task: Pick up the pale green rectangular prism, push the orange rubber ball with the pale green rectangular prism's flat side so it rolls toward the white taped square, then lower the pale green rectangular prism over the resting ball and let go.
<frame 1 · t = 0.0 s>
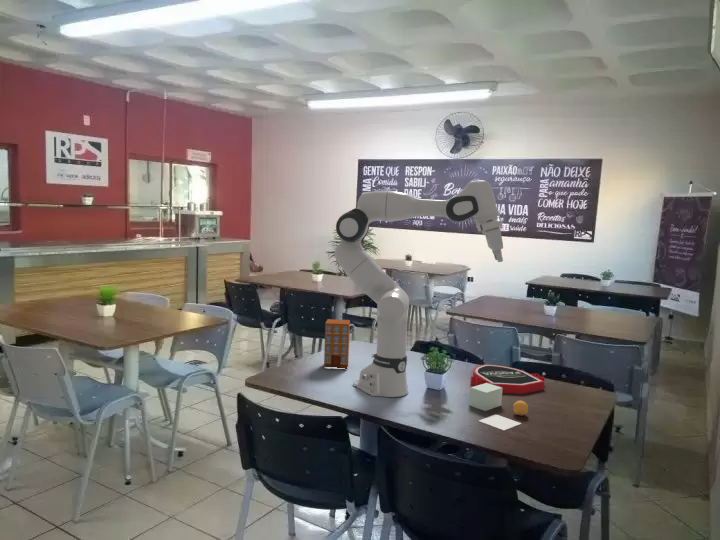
hand: (499, 260, 202), 52 cm above the table, tool tilted 20°, fingers open, 8 cm apart
mark: (499, 422, 186), on the table
miniature building: (336, 367, 243), on the table
emblem: (502, 383, 231), on the table
ball: (520, 408, 193), on the table
pale green rectangular prism: (485, 405, 202), on the table
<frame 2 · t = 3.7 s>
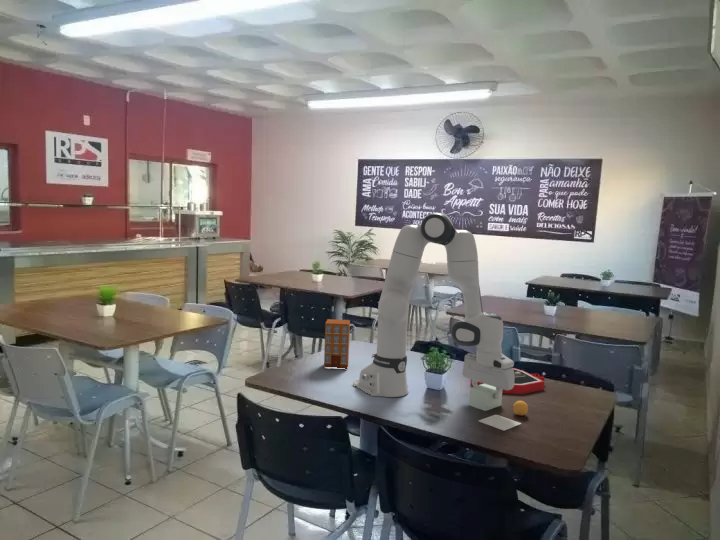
hand: (486, 395, 202), 4 cm above the table, tool pointing down, fingers closed on pale green rectangular prism, 7 cm apart
pale green rectangular prism: (485, 405, 202), on the table, touching gripper
everything else where it was.
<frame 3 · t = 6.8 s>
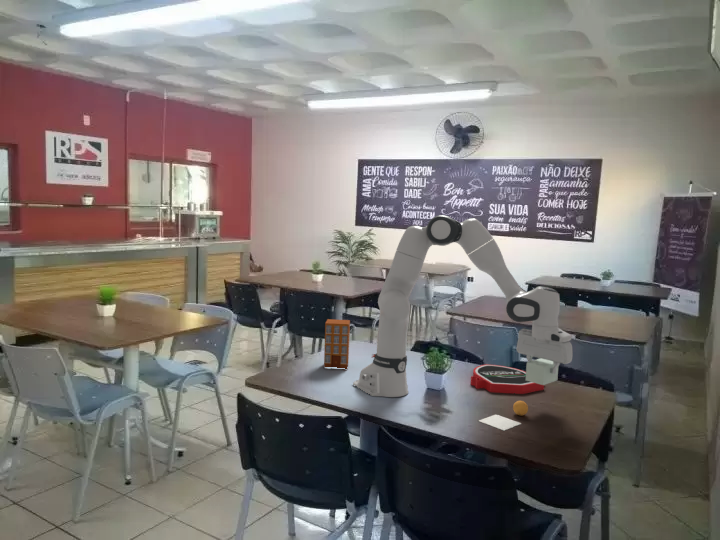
hand: (542, 370, 200), 14 cm above the table, tool pointing down, fingers closed on pale green rectangular prism, 7 cm apart
pale green rectangular prism: (541, 380, 200), point 10 cm above the table, touching gripper
everything else where it was.
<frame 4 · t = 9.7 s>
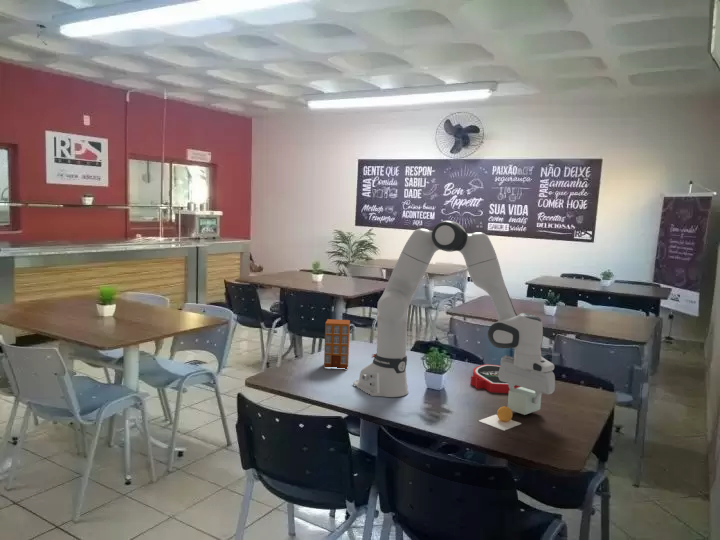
hand: (524, 399, 194), 5 cm above the table, tool pointing down, fingers closed on pale green rectangular prism, 7 cm apart
ball: (504, 413, 187), on the table
pale green rectangular prism: (523, 409, 195), point 2 cm above the table, touching gripper
everything else where it was.
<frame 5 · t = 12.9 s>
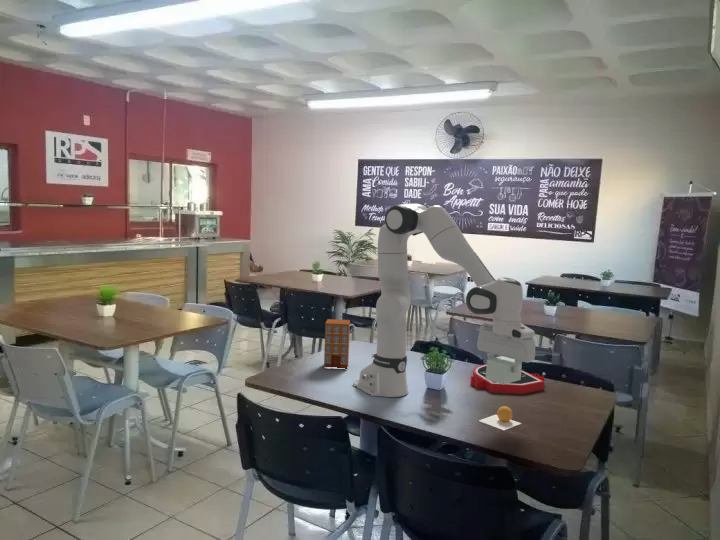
hand: (503, 369, 184), 18 cm above the table, tool pointing down, fingers closed on pale green rectangular prism, 7 cm apart
pale green rectangular prism: (503, 379, 184), point 15 cm above the table, touching gripper
everything else where it was.
when the fingers open (4 cm above the table, at t = 15.9 s): pale green rectangular prism stays where it is, on the table.
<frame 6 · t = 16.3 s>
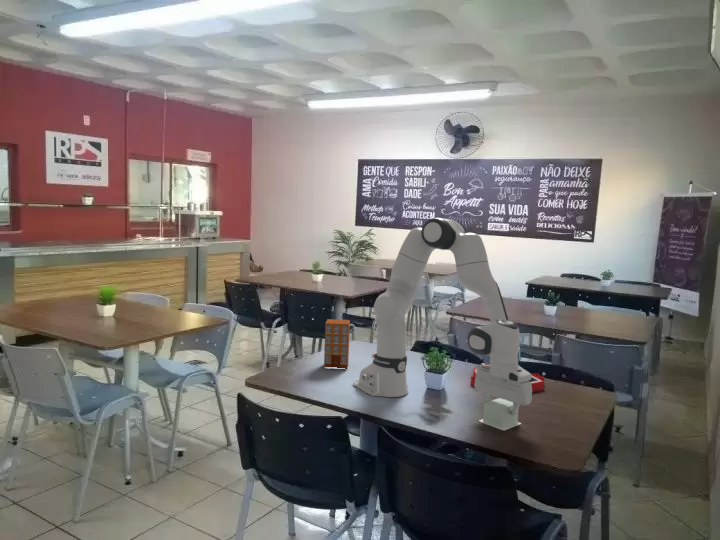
hand: (500, 410, 185), 4 cm above the table, tool pointing down, fingers open, 8 cm apart
pale green rectangular prism: (500, 422, 186), on the table
everything else where it was.
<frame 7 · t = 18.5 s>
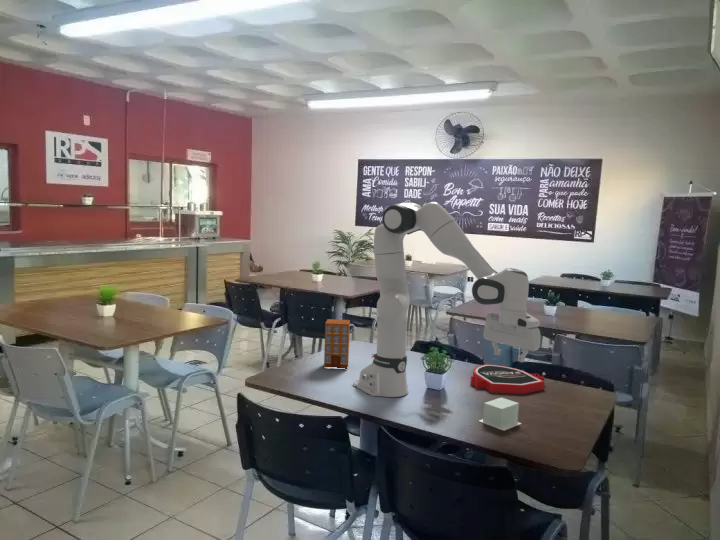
hand: (508, 358, 188), 21 cm above the table, tool pointing down, fingers open, 8 cm apart
nothing on the table moved.
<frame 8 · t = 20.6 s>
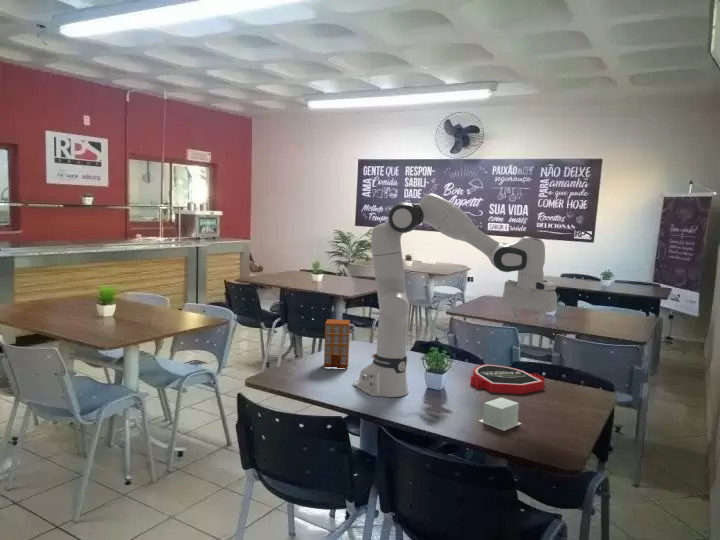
hand: (527, 320, 201), 31 cm above the table, tool pointing down, fingers open, 8 cm apart
nothing on the table moved.
at the end: ball 2.0 cm from the pale green rectangular prism (horizontally); pale green rectangular prism on the table; ball moved 9.7 cm from its start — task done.
